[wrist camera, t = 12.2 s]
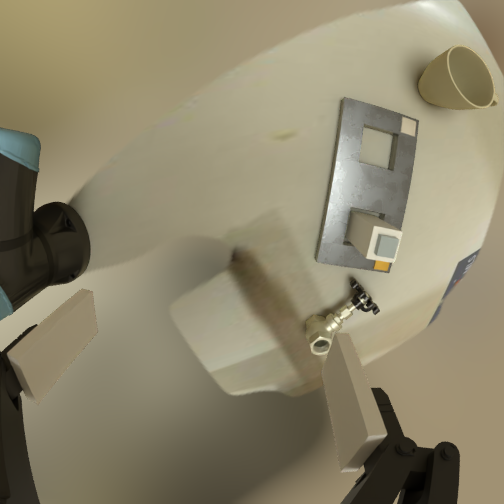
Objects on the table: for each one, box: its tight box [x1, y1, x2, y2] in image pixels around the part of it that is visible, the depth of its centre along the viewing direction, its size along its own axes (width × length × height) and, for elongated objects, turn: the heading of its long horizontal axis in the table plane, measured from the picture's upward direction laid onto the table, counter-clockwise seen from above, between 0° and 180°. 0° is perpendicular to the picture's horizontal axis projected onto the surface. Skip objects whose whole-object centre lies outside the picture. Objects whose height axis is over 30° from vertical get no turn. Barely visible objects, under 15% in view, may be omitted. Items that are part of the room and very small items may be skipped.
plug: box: [345, 211, 403, 263], centre depth 35 cm, size 4×4×11 cm
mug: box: [418, 45, 499, 110], centre depth 27 cm, size 11×10×12 cm
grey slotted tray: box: [315, 97, 419, 273], centre depth 37 cm, size 12×24×2 cm, turn 172°
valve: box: [305, 279, 380, 355], centre depth 42 cm, size 7×7×12 cm
